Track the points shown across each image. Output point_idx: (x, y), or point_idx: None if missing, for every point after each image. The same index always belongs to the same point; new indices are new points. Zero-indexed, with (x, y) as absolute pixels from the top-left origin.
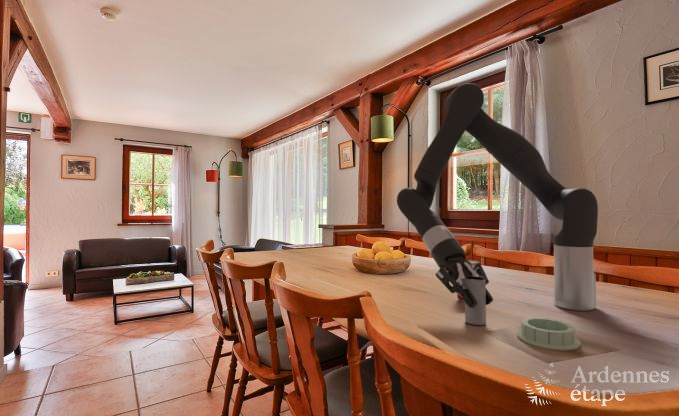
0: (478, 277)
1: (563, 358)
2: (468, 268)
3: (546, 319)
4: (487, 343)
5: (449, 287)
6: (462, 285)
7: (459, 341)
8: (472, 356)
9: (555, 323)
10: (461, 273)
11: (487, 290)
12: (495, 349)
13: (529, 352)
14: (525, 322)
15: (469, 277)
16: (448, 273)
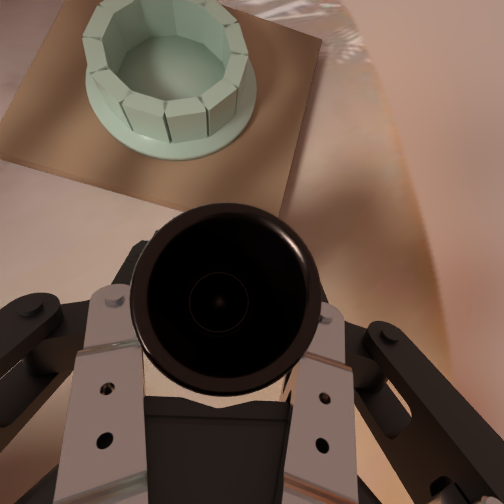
0: (147, 310)
1: (268, 26)
2: (140, 480)
3: (106, 66)
4: (301, 201)
5: (388, 400)
6: (339, 326)
7: (357, 255)
8: (399, 178)
9: (106, 48)
10: (321, 416)
11: (118, 273)
12: (317, 168)
13: (303, 83)
14: (210, 96)
15: (212, 373)
16: (483, 475)
